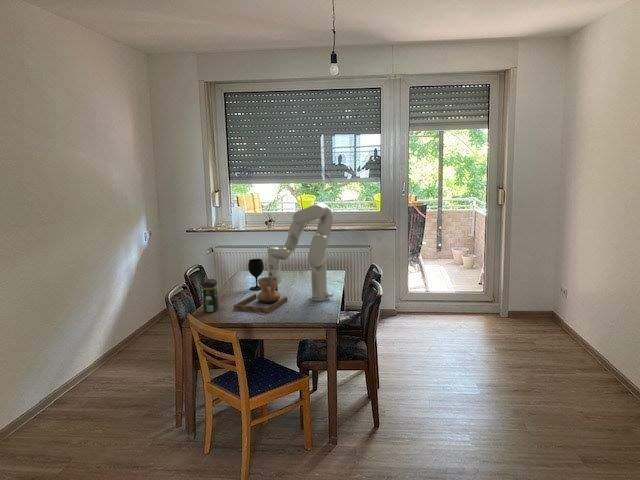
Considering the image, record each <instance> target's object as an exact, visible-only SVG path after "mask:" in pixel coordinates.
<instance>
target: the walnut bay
mask: <svg viewBox="0 0 640 480" xmlns="http://www.w3.org/2000/svg"><path fill="white" fill-rule="evenodd" d="M257 295H258V294H257V293H254V294H251V295H250V296H248V297H246V298H244V299H242V300H240V301H239V302H236V303H235V304H233V311H240V312H250V313H259V314H260V313H261V314H271V312H273V311H275V310H277V309H278V308H279V307H282V305H285V304H286V303H287V302H288V296H284V297H282V298H280V299H279V300H277V301H275V302H273V303H271V305H269V306H267V307H265V306H255V305H248V304H250V303H252V302H253V301H256V300H258V299H257Z"/></svg>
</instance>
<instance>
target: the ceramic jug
mask: <svg viewBox="0 0 640 480" xmlns="http://www.w3.org/2000/svg"><path fill="white" fill-rule="evenodd" d="M277 282H278V278H276V277H275V281H269V282H268V276H264V277H260V278H257V284H258V286H260V288H261V290H260V292H259V293H258V294H256V295H257V299H256V300H258V301H259V302H261V303H265V304H266V303H267V304H270V303H271V304H272V303H275V302H277V301H279V300H280V299H281V294H280V292H279V291H278V292H277V291H276V290H275V289H276V286H277Z"/></svg>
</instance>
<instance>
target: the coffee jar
mask: <svg viewBox="0 0 640 480" xmlns="http://www.w3.org/2000/svg"><path fill="white" fill-rule="evenodd" d="M201 289H202V298H203V301H202V302H203V303H202V304H203V312H205V313H216V312H217V311H218V310H219V308H220V307H219V306H220V305H219V297H218V296H219V295H218V282H217V280H216V279H215V278H207V279H206V280H204V281H202V283H201Z"/></svg>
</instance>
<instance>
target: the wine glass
mask: <svg viewBox="0 0 640 480" xmlns="http://www.w3.org/2000/svg"><path fill="white" fill-rule="evenodd" d="M247 267H248V273H249V274H250V275H252V277H254V279H255V285H254V286H250V287H249V290H250V291H255V292H259V291H262V290H261V288H260V286H259V283H258V279H259V276H261V275H262V274H263V272H264V269H265V268H264V267H265V265H264V261H263V259H260V258H251V259H249V260H248V264H247Z"/></svg>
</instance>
